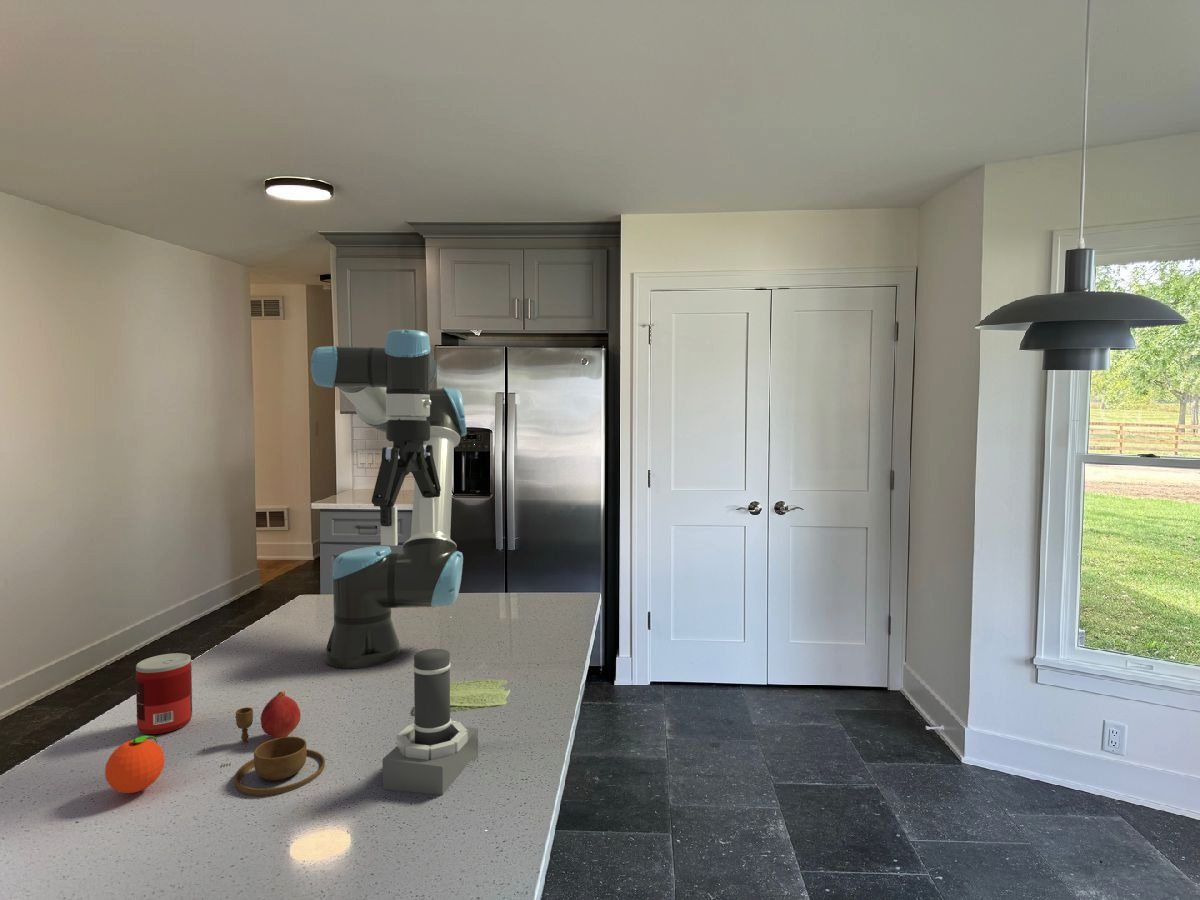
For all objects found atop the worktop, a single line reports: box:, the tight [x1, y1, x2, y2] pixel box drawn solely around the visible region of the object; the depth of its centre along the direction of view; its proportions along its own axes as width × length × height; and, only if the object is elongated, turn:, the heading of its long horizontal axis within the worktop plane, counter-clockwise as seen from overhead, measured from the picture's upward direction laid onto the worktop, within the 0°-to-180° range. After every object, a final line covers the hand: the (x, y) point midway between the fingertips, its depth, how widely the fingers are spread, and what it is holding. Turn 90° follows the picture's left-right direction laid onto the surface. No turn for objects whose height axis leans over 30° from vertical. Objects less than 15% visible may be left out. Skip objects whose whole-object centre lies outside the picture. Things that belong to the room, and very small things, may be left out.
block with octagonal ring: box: [382, 719, 479, 796], centre depth 101 cm, size 12×9×6 cm
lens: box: [412, 648, 452, 746], centre depth 100 cm, size 5×5×13 cm
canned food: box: [135, 652, 193, 735], centre depth 117 cm, size 8×8×11 cm
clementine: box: [104, 735, 165, 794], centre depth 97 cm, size 8×7×7 cm
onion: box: [260, 690, 301, 739], centre depth 112 cm, size 6×6×8 cm
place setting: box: [220, 706, 326, 797], centre depth 104 cm, size 18×20×6 cm
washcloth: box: [412, 678, 511, 716], centre depth 126 cm, size 13×18×3 cm
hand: (409, 538), depth 123 cm, fingers open, 13 cm apart
